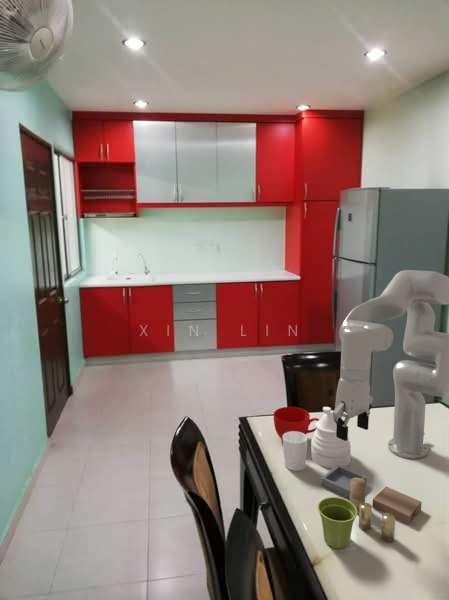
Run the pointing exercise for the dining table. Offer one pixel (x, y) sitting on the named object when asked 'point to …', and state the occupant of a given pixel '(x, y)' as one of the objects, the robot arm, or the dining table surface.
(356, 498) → the dowel
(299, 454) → the white cup
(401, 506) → the brown wooden brick
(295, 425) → the ceramic cup
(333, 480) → the tray
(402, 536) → the dining table surface
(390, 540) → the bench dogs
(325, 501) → the plant pot
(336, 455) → the honey pot
